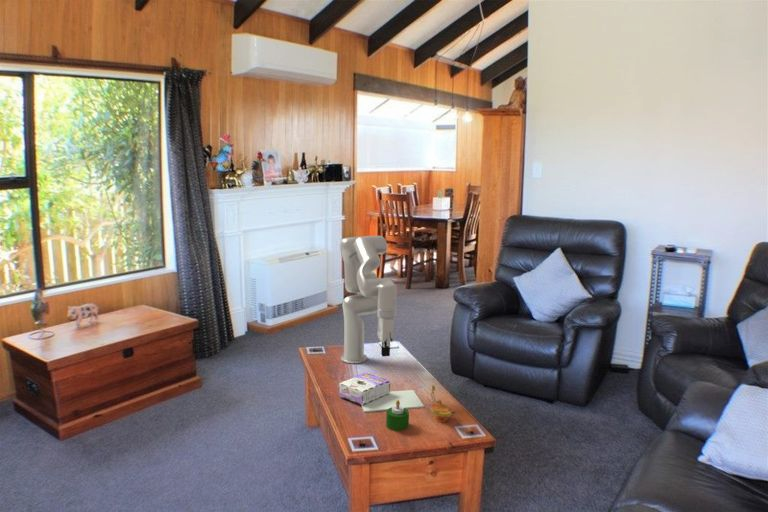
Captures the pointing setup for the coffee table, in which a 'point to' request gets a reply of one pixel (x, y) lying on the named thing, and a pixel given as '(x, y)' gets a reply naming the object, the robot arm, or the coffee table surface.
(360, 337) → the robot arm
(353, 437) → the coffee table surface
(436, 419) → the magic lamp
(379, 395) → the candy box
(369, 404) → the mat
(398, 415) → the candle
